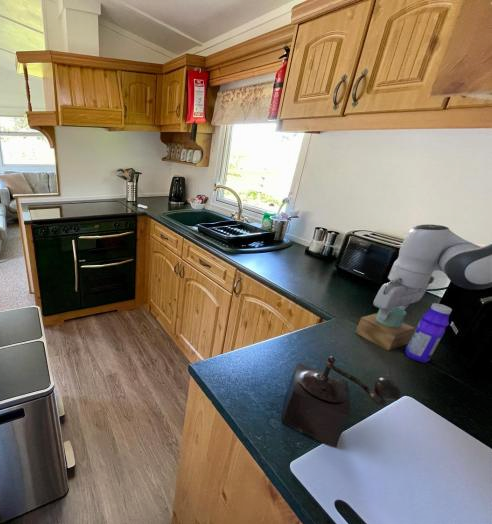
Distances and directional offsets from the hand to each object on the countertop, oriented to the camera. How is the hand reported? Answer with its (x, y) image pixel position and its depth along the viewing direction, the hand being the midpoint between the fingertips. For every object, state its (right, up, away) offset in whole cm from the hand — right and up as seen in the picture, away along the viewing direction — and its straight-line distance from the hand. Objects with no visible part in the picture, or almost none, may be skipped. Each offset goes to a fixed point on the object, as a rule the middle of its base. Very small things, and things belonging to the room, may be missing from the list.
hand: (390, 316), depth 92 cm
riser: (-1, -8, +3) cm, 8 cm away
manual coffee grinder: (-41, -18, -30) cm, 54 cm away
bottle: (+3, -11, -5) cm, 13 cm away
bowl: (0, -2, +1) cm, 2 cm away
